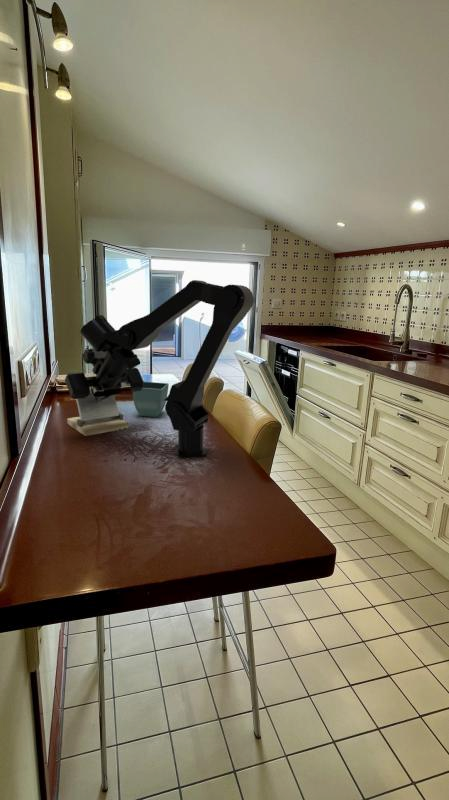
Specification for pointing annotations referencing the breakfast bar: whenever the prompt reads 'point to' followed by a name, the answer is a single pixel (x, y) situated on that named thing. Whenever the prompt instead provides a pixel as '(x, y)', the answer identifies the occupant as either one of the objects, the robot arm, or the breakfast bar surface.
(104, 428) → the pale wooden slab
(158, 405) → the flower pot
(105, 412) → the flat square panel
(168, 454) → the breakfast bar surface
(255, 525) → the breakfast bar surface
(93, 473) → the breakfast bar surface
